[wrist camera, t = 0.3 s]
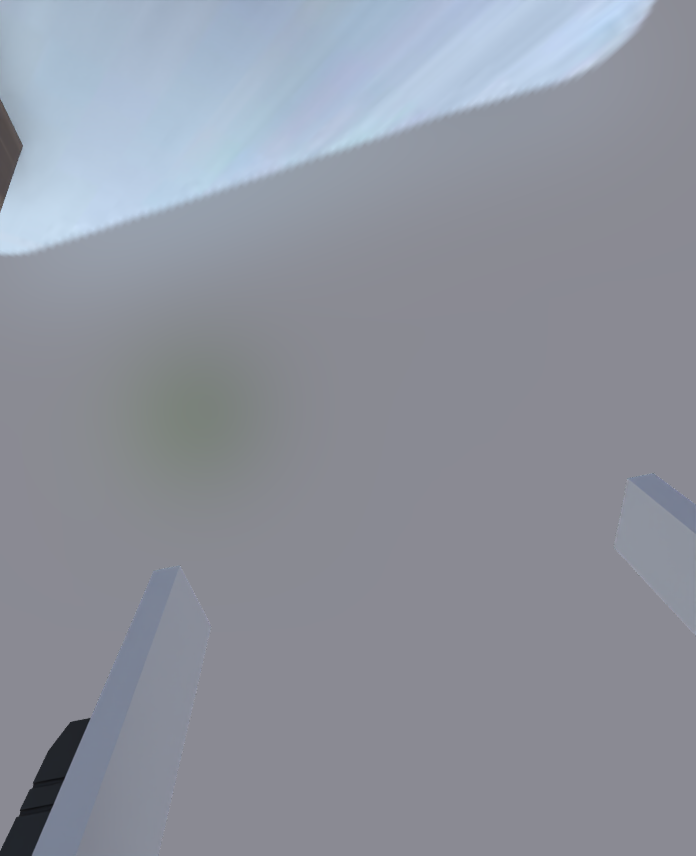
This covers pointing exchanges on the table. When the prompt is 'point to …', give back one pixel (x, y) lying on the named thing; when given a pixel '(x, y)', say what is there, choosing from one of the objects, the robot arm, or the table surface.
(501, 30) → the table surface
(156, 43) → the table surface
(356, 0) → the table surface
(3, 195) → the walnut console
